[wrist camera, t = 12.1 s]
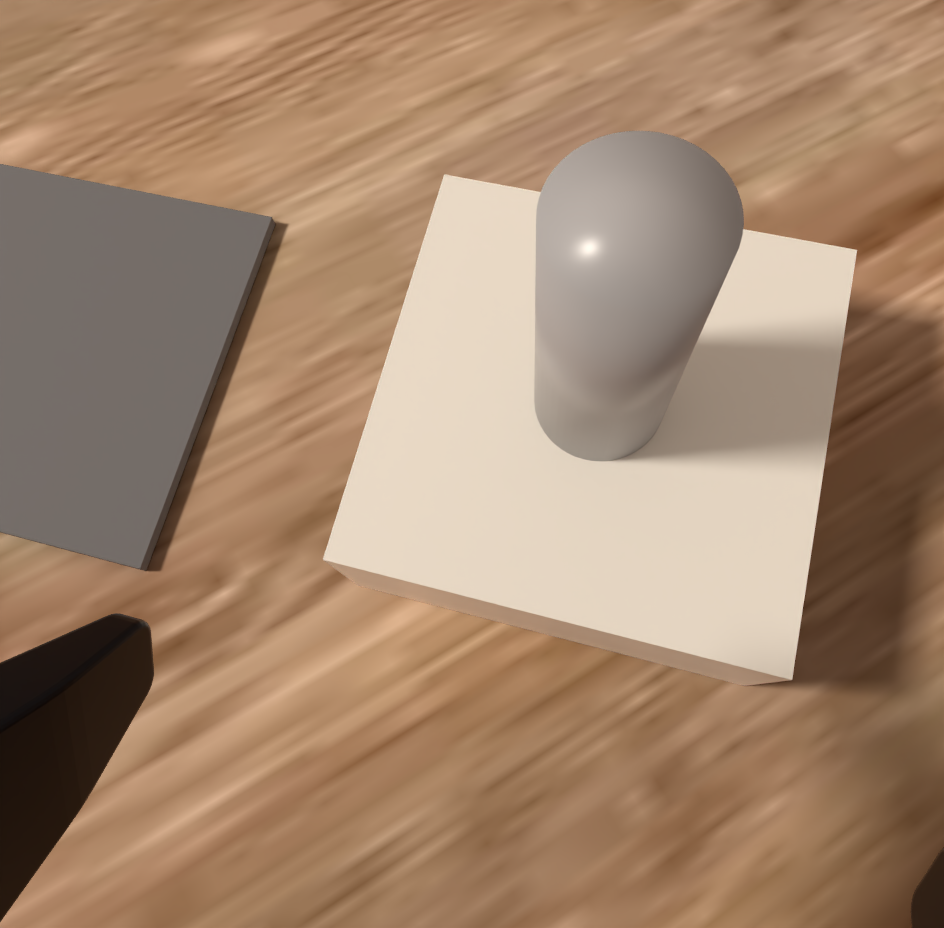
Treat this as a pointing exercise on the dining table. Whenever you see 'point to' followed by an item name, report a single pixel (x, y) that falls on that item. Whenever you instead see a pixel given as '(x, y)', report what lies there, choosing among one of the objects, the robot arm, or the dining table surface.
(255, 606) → the dining table surface
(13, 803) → the robot arm
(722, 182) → the cream bowl cover
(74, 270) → the charcoal rubber mat
